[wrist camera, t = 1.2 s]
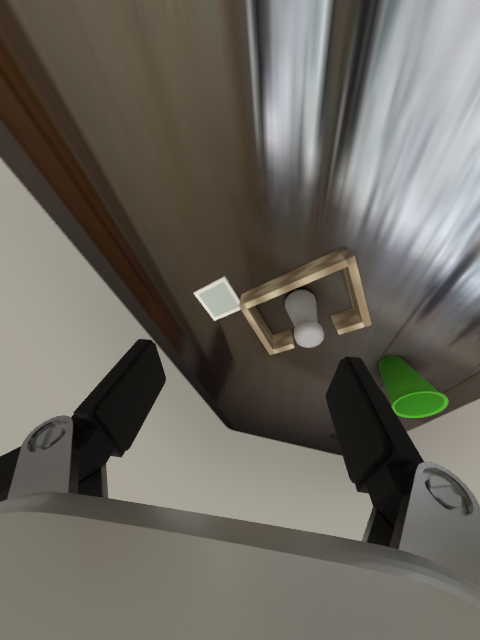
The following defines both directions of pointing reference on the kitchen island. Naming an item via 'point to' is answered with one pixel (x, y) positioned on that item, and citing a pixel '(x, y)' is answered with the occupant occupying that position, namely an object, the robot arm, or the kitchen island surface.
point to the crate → (300, 277)
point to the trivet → (218, 298)
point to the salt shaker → (304, 318)
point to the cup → (409, 390)
